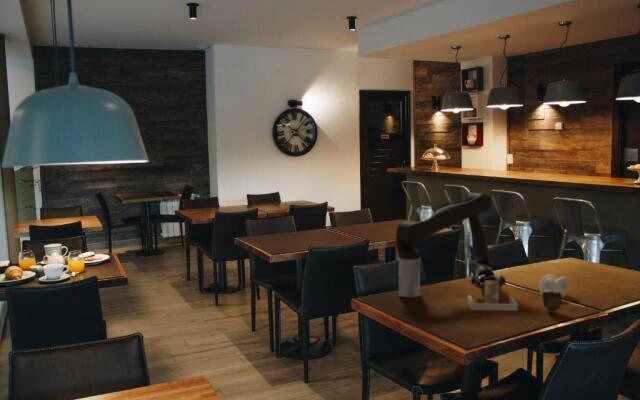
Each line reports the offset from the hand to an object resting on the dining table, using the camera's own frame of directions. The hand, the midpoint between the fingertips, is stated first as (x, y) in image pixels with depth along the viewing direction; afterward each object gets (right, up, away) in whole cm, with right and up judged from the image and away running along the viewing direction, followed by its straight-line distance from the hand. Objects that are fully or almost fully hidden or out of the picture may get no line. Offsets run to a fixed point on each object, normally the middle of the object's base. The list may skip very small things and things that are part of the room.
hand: (489, 284), depth 246 cm
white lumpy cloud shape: (+29, -6, +7) cm, 31 cm away
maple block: (-1, -8, -5) cm, 9 cm away
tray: (-1, -8, -5) cm, 10 cm away
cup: (+20, -9, -17) cm, 27 cm away
